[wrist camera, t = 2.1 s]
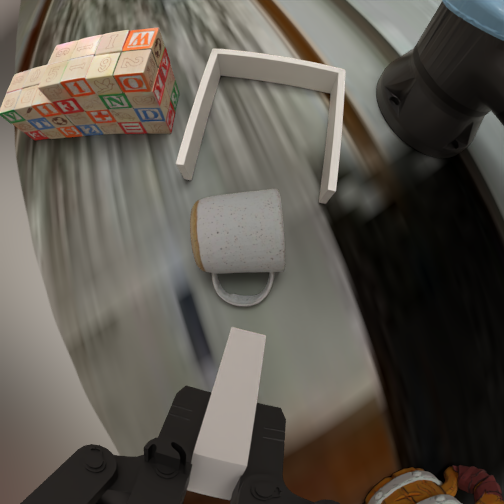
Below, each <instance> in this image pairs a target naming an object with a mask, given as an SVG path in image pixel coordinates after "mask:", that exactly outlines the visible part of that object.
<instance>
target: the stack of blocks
mask: <svg viewBox="0 0 504 504" xmlns="http://www.w3.org/2000/svg"><path fill="white" fill-rule="evenodd" d="M178 97H179V90H178V87H177V83H176V80H175V78H174V75H173V71H172V68H171V65H170V60H169V57H168V54H167V50H166V47H165V46H164V43H163V40H162V36H161V33H160V30H159V28H150V29H140V30H132V31H129V30H124V31H118V32H112V33H107V34H103V35H97V36H93V37H88V38H84V39H80V40H79V41H78V40H76V41H72V42H68V43H64V44H61V45H57V46H56V48H55V50H54V52H53V54H52V56H51V58H50V60H49V62H48V65H44V66H40V67H37V68H33V69H31V70H27V71H24V72H20V73H17V74H15V75H14V77H13V79H12V82H11V84H10V86H9V88H8V90H7V94H6V96H5V98H4V101H3V103H2V106H1V108H0V116H2V117H3V118H4V119H6V120H7V121H8V122H9V123H12V124H13V125H14V126H16V127H17V128H18V129H20V130H21V131H22V132H24V133H26V134H27V135H28V136H29V137H31V138H32V139H33V140H42V139H49V138H50V139H56V138H65V137H80V136H88V135H103V134H122V133H125V134H144V133H149V134H170V133H171V132H172V127H173V122H174V117H175V110H176V106H177V101H178Z"/></svg>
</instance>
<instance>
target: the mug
mask: <svg viewBox="0 0 504 504" xmlns="http://www.w3.org/2000/svg"><path fill="white" fill-rule="evenodd" d="M443 474H444V478H445V482H444V483H443V484H442V482H441V481H440V480H438V479H437V478H436V477H435V476H434V475H433V474H431V473H430V472H427V471H424V470H423V469H421V468H416V469H415V468H413V467H411V468H407V469H402V470H400V471H398V472H396V473H394V474H392V477H386V478H384V479H383V480H381V481H380V482H379V483H378V484H377V485H375V486H374V487H373V488H372V490H371V491H370V492H369V493H368V495H367V497H366V499H365V503H364V504H462V503H460V502H459V501H458V500H457V499H455V498H454V496H455V495H456V492H457V487H458V488H459V489H461V490H464V491H466V492H468V493H472V494H474V499H475V504H504V501H503V496H502V493H501V489H500V486H499V484H498V483H496V481H495V478H494V476H493V475H488V474H487V473H486V471H485V470H483V469H477V468H476V467H474V466H471V467H468V466H462V465H459V466H458V467H457V466H454V465H452V466H450V467H448V468H447V469H446V470H445V471H444V473H443Z"/></svg>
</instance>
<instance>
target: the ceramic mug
mask: <svg viewBox="0 0 504 504" xmlns="http://www.w3.org/2000/svg"><path fill="white" fill-rule="evenodd" d="M190 233H191V243H192V250H193V254H194V258H195V262H196V264H197V266H198V267H199V268H200V269H201V270H202V271H205V272H210V273H212V282H213V285H214V288H215V290H216V292H217V294H218V295H219V297H221V298H222V299H223V300H224V301H226V302H227V303H229V304H232V305H236V306H252V305H255V304H258V303H259V302H261V301H262V300H263V299H264V298H265V297H266V296H267V294H268V293H269V292H270V289H271V287H272V284H273V280H274V273H275V272H282V271H284V269H285V239H284V226H283V215H282V206H281V198H280V194H279V191H278V190H277V189H267V190H258V191H250V192H240V193H234V194H224V195H216V196H209V197H206V198H203V199H200V200H198V201H197V202H196V203H195V204H194V206H193V207H192V211H191V218H190ZM240 272H269V278H268V282H267V284H266V286H265V288H264V289H263V291H262V292H260V293H259V294H256V295H253V296H249V295H237V294H235V293H233V294H229V293H227V292H226V291H225V290H224V289H223V288H222V287H221V285H220V282H219V279H218V276H217V273H240Z"/></svg>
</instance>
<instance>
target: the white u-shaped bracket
mask: <svg viewBox="0 0 504 504" xmlns="http://www.w3.org/2000/svg"><path fill="white" fill-rule="evenodd" d="M220 76H228V77H237V78H245V79H253V80H260V81H267V82H273V83H279V84H285V85H291V86H296V87H301V88H306V89H311V90H316V91H321V92H325V93H330V106H329V116H328V126H327V136H326V145H325V154H324V163H323V171H322V179H321V187H320V195H319V203H324V204H326V203H327V202H328V200H329V199H330V198H331V197H332V195H333V194H334V193H335V192H336V186H337V177H338V167H339V157H340V146H341V134H342V121H343V107H344V90H345V69H341V68H336V67H332V66H328V65H323V64H319V63H314V62H309V61H304V60H299V59H293V58H288V57H282V56H275V55H269V54H262V53H254V52H246V51H236V50H226V49H212V52H211V55H210V57H209V60H208V63H207V66H206V69H205V71H204V74H203V77H202V80H201V83H200V86H199V89H198V92H197V95H196V98H195V101H194V104H193V107H192V111H191V114H190V117H189V120H188V124H187V127H186V130H185V134H184V137H183V140H182V144H181V147H180V151H179V154H178V158H177V162H176V165H177V167H178V169H179V170H180V172H181V174H182V176H183V177H184V179H186V180H192V177H193V173H194V169H195V165H196V161H197V157H198V153H199V149H200V146H201V142H202V138H203V134H204V131H205V127H206V124H207V120H208V117H209V113H210V110H211V106H212V103H213V99H214V96H215V93H216V89H217V86H218V83H219V80H220Z"/></svg>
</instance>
